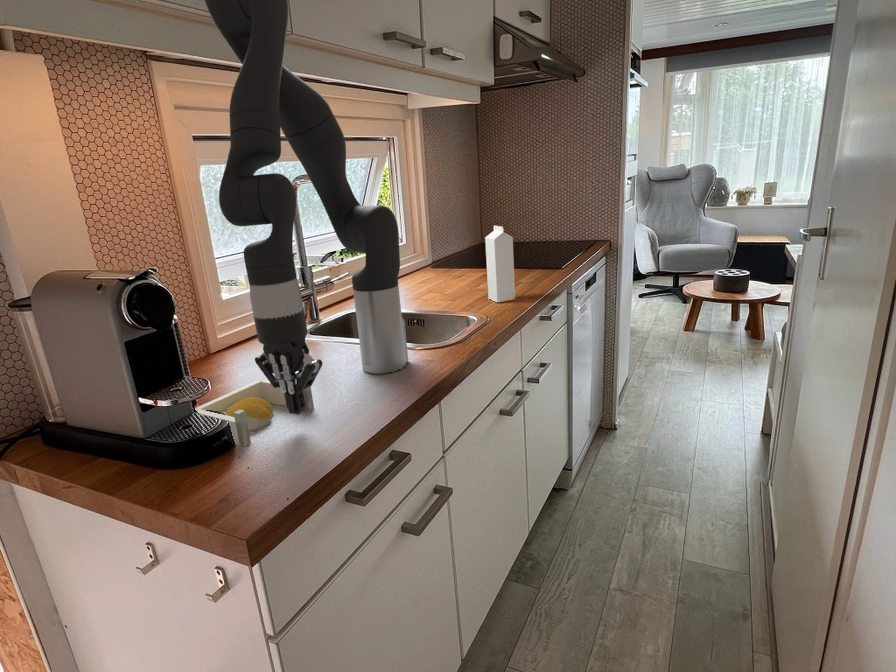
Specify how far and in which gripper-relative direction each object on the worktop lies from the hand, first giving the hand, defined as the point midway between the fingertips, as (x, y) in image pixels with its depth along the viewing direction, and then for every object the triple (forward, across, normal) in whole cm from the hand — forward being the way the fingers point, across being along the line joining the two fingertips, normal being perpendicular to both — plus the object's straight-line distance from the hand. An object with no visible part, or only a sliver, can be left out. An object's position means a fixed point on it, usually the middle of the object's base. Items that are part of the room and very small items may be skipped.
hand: (296, 412), depth 92 cm
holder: (+3, +10, 0) cm, 10 cm away
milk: (+5, +4, -90) cm, 90 cm away
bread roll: (+3, +11, +1) cm, 11 cm away
